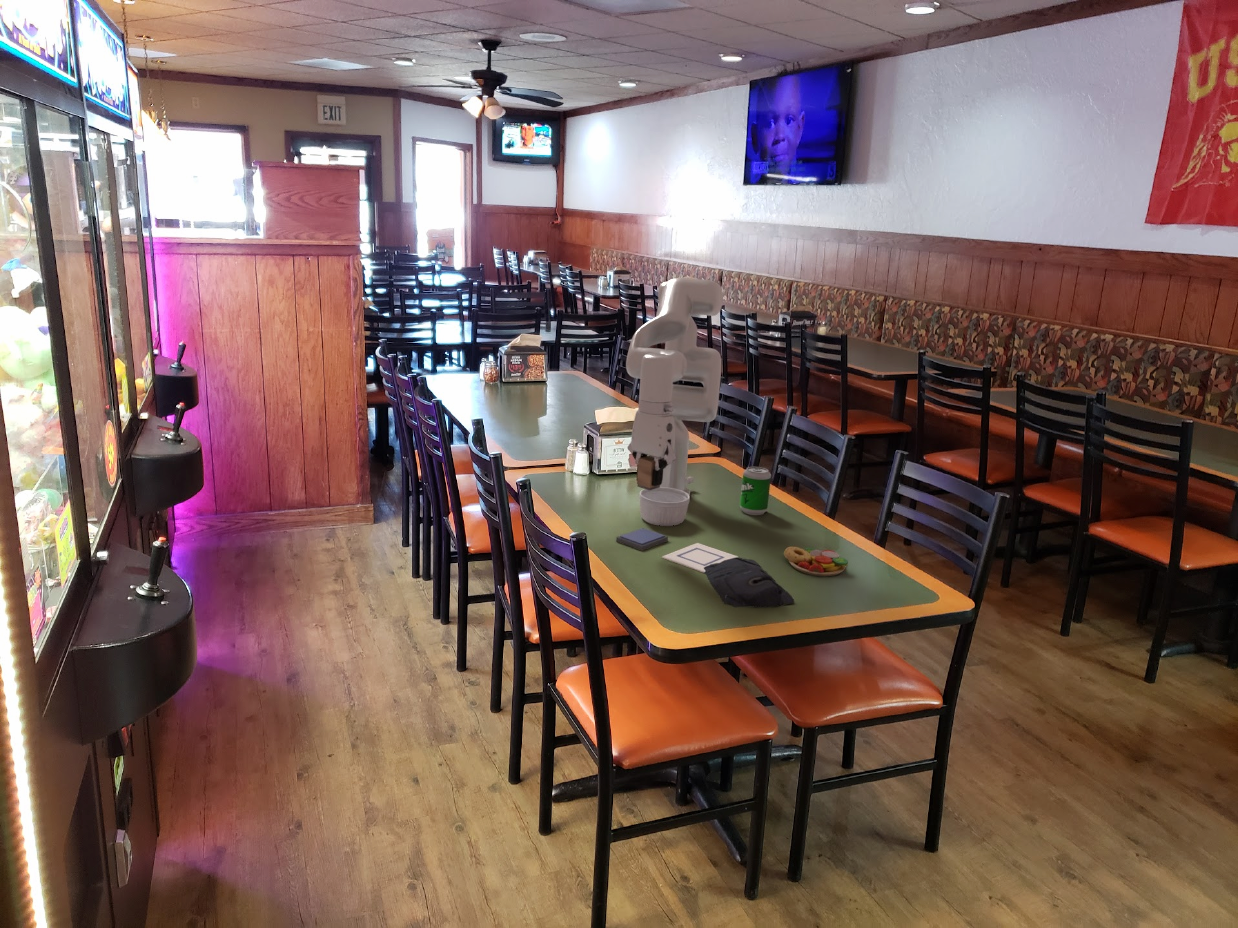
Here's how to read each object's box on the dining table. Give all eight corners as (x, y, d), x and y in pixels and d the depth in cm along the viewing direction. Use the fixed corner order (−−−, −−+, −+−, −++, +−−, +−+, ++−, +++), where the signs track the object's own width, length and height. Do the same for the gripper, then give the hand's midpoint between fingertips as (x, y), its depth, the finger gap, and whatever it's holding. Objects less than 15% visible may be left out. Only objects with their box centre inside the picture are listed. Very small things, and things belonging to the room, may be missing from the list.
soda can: (766, 508, 247) (770, 467, 243) (767, 517, 239) (772, 474, 236) (738, 506, 247) (743, 464, 244) (739, 514, 240) (744, 472, 237)
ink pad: (642, 532, 221) (642, 526, 221) (667, 540, 216) (668, 535, 216) (616, 541, 214) (616, 535, 214) (641, 550, 209) (642, 544, 209)
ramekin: (684, 530, 225) (686, 504, 223) (633, 524, 227) (635, 498, 225) (690, 515, 237) (692, 490, 235) (642, 509, 240) (644, 484, 238)
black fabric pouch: (762, 568, 204) (764, 549, 203) (797, 609, 183) (800, 587, 182) (698, 569, 201) (699, 549, 200) (726, 610, 180) (728, 589, 179)
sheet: (697, 543, 216) (697, 542, 216) (738, 557, 208) (738, 556, 208) (661, 557, 205) (661, 556, 205) (703, 572, 198) (704, 571, 198)
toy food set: (777, 558, 210) (778, 545, 209) (825, 554, 215) (826, 542, 214) (806, 580, 198) (808, 567, 197) (856, 576, 203) (858, 562, 202)
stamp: (647, 483, 214) (649, 455, 212) (660, 487, 211) (662, 459, 209) (636, 486, 211) (638, 458, 209) (649, 490, 208) (651, 462, 207)
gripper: (693, 412, 204) (686, 488, 208) (637, 399, 214) (632, 472, 219) (672, 416, 198) (666, 494, 203) (617, 402, 209) (612, 477, 213)
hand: (649, 481), depth 211 cm, fingers closed on stamp, 4 cm apart
